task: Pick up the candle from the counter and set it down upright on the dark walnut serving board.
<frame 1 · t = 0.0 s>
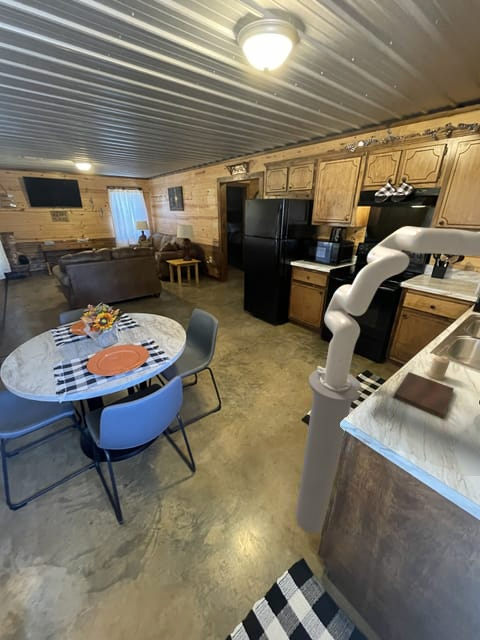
hand: (478, 309, 106), 30 cm above the counter, tool pointing down, fingers open, 9 cm apart
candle: (435, 376, 115), on the counter
walnut board: (423, 394, 104), on the counter
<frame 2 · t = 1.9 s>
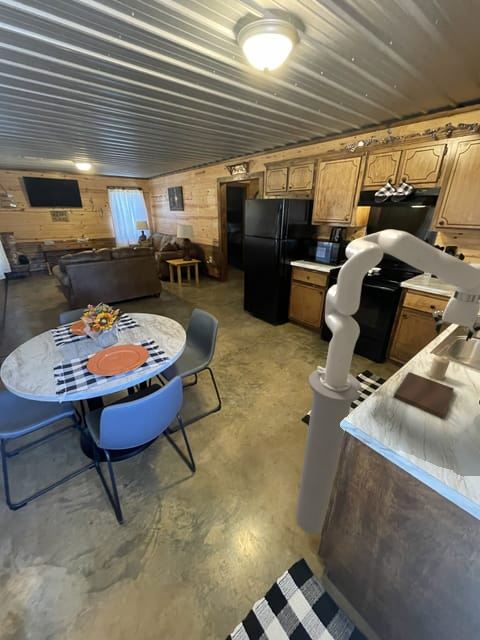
hand: (452, 336, 107), 20 cm above the counter, tool pointing down, fingers open, 9 cm apart
nothing on the counter moved.
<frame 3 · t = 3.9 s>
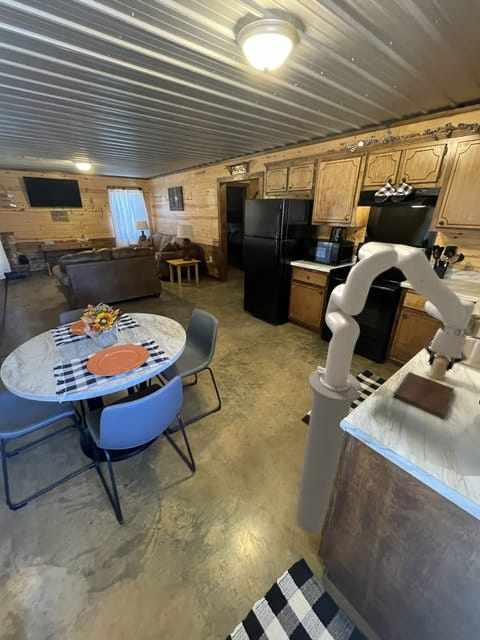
hand: (439, 366, 113), 5 cm above the counter, tool pointing down, fingers closed on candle, 5 cm apart
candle: (435, 376, 115), on the counter, touching gripper
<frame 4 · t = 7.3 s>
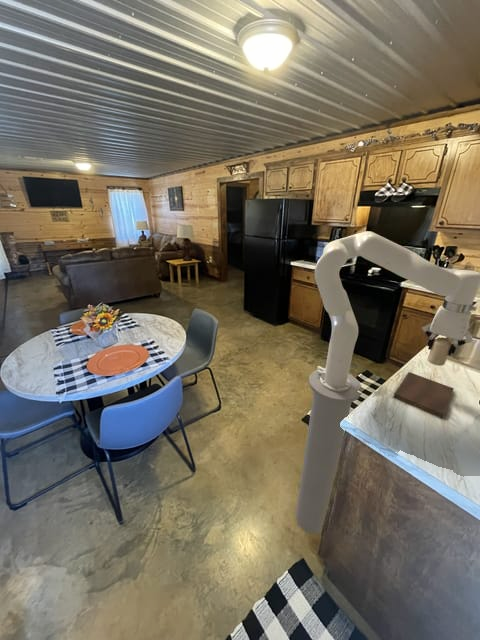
hand: (439, 350, 98), 19 cm above the counter, tool pointing down, fingers closed on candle, 5 cm apart
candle: (435, 362, 100), point 14 cm above the counter, touching gripper
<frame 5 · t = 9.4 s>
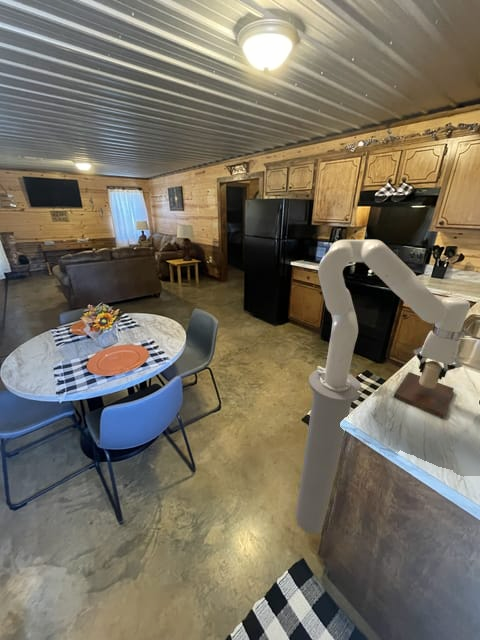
hand: (430, 373, 100), 10 cm above the counter, tool pointing down, fingers closed on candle, 5 cm apart
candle: (427, 384, 102), point 5 cm above the counter, touching gripper
when the fingers open (7 cm above the counter, at t = 10.7 s): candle stays where it is, resting on walnut board.
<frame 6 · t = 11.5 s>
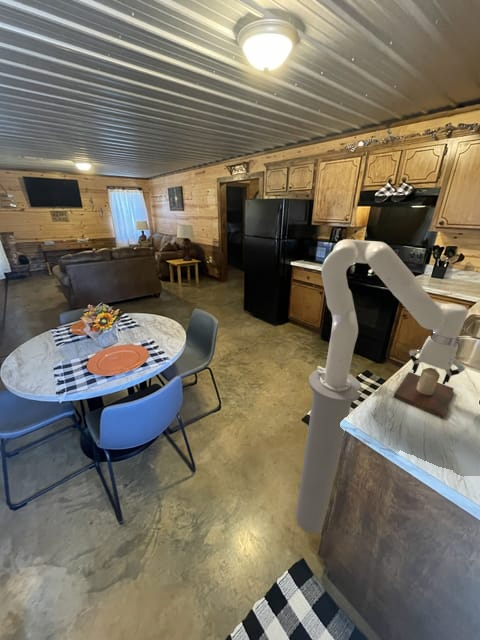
hand: (428, 377, 101), 8 cm above the counter, tool pointing down, fingers open, 9 cm apart
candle: (424, 391, 103), point 2 cm above the counter, touching walnut board
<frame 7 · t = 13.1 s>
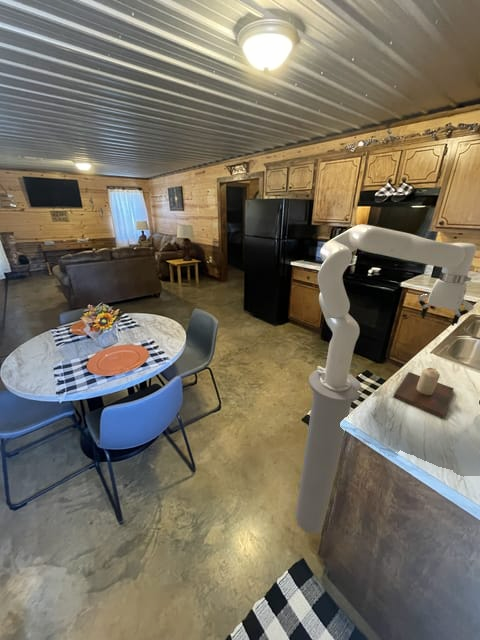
hand: (437, 320, 102), 27 cm above the counter, tool pointing down, fingers open, 9 cm apart
nothing on the counter moved.
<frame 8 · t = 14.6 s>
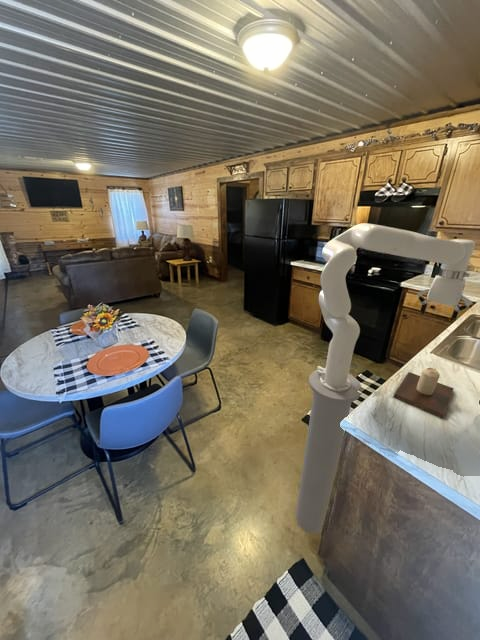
hand: (437, 316, 104), 28 cm above the counter, tool pointing down, fingers open, 9 cm apart
nothing on the counter moved.
at the end: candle inside the target area (0.0 cm from its centre), point 1.6 cm above the counter; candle tilted 0° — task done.
